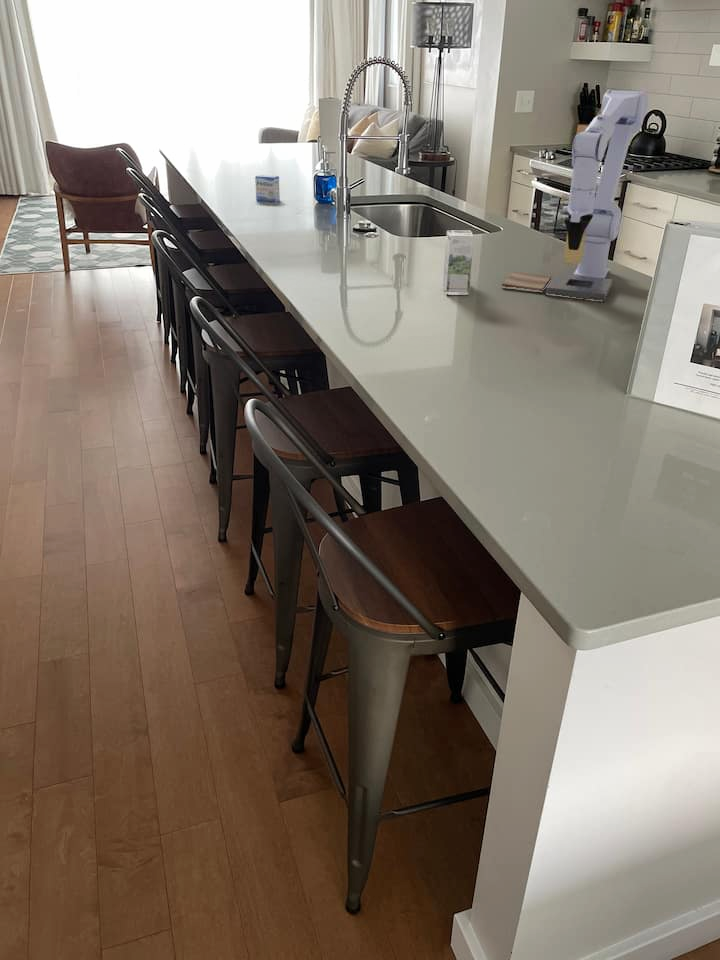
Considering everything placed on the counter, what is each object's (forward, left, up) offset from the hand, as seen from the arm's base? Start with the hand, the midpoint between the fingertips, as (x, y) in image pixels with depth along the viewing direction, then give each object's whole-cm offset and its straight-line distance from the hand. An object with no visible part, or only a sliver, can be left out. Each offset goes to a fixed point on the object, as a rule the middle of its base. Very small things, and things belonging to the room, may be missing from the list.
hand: (574, 247), depth 190 cm
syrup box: (+14, -25, -11) cm, 30 cm away
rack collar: (0, +3, -10) cm, 11 cm away
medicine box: (-73, -123, -11) cm, 144 cm away
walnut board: (0, -10, -10) cm, 15 cm away
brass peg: (0, 0, -3) cm, 3 cm away
